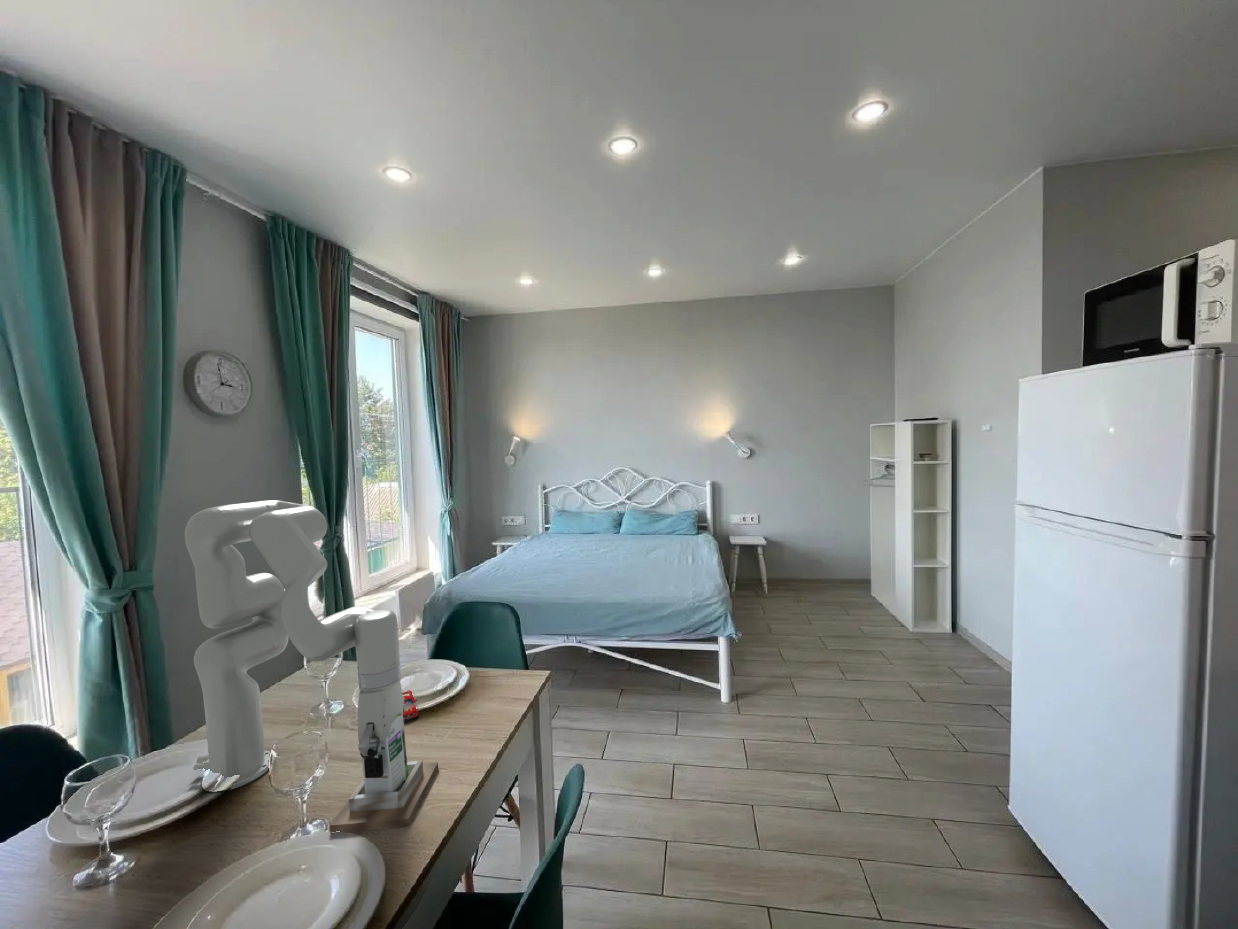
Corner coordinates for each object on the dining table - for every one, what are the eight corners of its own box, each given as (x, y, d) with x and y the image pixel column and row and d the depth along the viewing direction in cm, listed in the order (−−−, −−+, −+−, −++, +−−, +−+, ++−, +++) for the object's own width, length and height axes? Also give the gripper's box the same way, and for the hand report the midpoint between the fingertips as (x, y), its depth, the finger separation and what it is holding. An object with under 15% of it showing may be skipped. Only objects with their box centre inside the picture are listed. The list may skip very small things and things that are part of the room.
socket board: (330, 833, 87) (328, 812, 87) (372, 774, 103) (371, 756, 103) (408, 827, 88) (406, 805, 88) (438, 769, 104) (437, 751, 104)
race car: (419, 720, 125) (418, 704, 125) (396, 726, 122) (395, 711, 122) (415, 698, 136) (414, 684, 136) (394, 703, 134) (393, 689, 134)
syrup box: (392, 803, 92) (386, 729, 92) (364, 801, 93) (358, 728, 93) (409, 782, 98) (404, 712, 97) (382, 781, 99) (377, 712, 98)
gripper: (380, 657, 103) (386, 736, 104) (336, 699, 86) (343, 792, 87) (416, 655, 104) (421, 733, 104) (378, 696, 86) (385, 789, 87)
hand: (386, 760), depth 95 cm, fingers open, 9 cm apart
